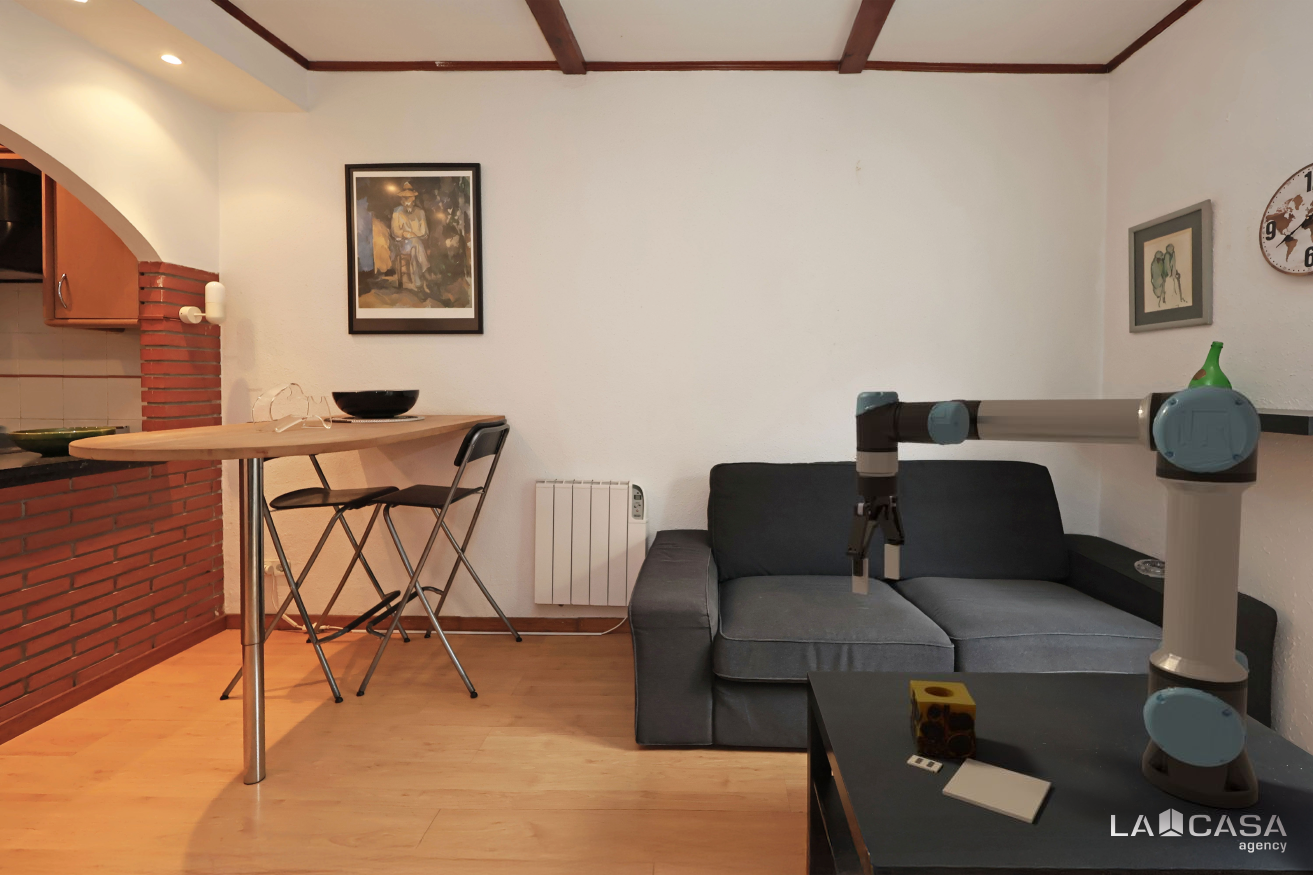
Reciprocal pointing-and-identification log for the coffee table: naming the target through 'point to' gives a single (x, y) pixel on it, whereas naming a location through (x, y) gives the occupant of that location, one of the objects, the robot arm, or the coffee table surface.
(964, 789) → the coaster
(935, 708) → the candle
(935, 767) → the tag
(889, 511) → the robot arm
